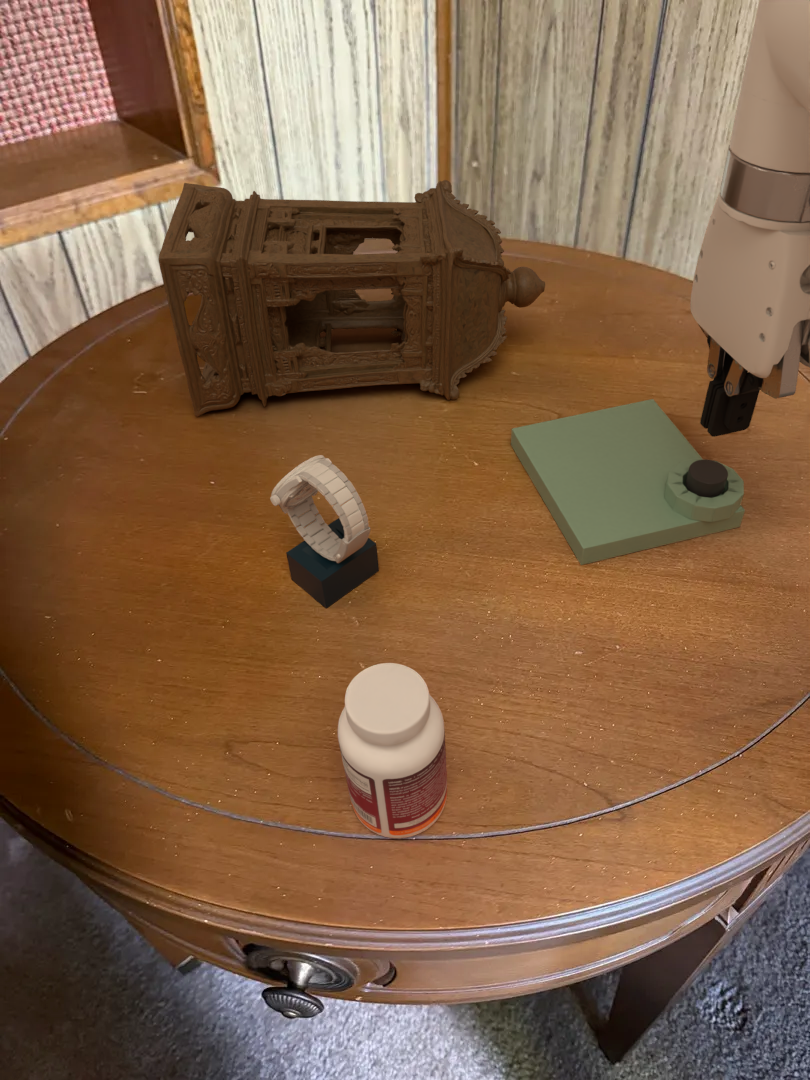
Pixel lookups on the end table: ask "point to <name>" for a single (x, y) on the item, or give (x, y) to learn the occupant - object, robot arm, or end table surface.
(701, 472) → the button
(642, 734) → the end table surface
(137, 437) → the end table surface
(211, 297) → the brown lantern
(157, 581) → the end table surface
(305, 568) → the watch
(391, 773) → the pill bottle
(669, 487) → the scale
